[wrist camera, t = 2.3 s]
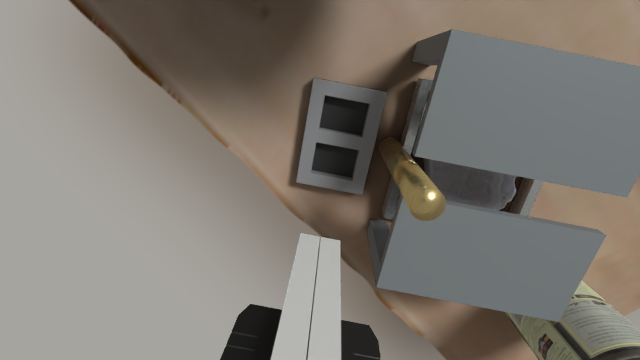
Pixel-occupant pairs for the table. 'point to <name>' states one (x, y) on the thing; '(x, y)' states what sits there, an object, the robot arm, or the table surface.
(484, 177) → the stone block
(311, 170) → the pit board
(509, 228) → the gray split-top stand
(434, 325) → the table surface
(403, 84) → the table surface
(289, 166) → the table surface
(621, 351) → the coffee can
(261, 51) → the table surface
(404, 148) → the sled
